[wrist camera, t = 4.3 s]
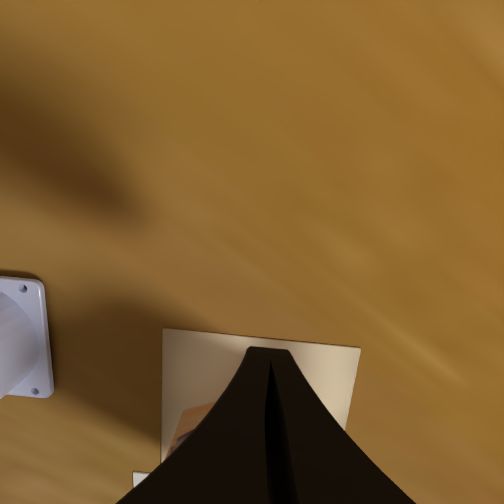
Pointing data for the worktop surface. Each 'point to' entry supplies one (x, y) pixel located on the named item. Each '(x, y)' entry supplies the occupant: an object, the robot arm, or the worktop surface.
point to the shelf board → (227, 363)
